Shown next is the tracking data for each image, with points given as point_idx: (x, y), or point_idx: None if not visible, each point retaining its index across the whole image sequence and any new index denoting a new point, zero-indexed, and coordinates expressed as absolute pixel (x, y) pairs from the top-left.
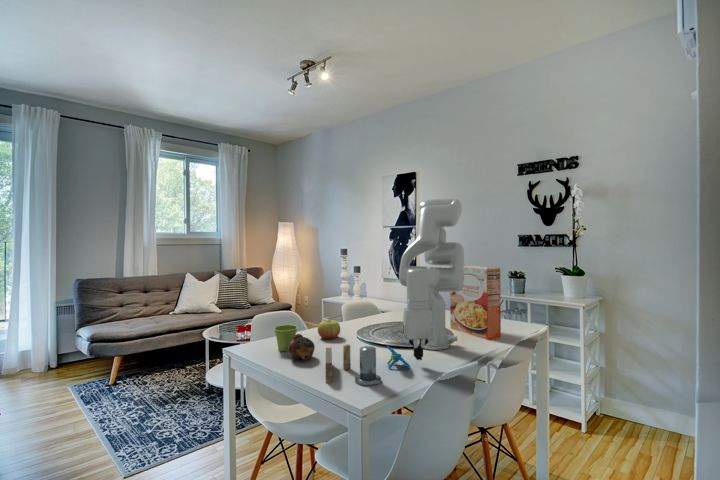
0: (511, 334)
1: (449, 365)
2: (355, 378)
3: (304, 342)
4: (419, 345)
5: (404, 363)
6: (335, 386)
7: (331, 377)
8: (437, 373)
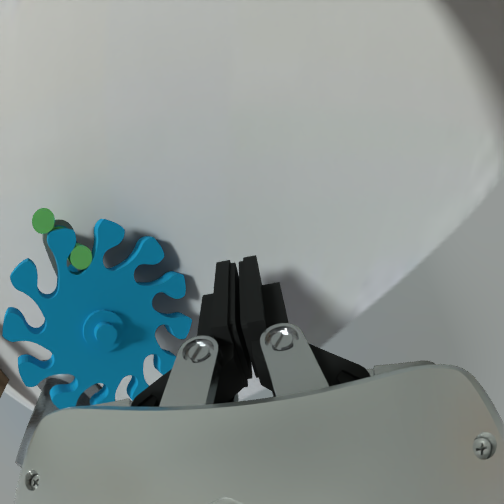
0: None
1: (428, 224)
2: (41, 389)
3: None
4: (260, 377)
5: (158, 370)
6: (29, 397)
7: (3, 389)
8: (331, 335)
